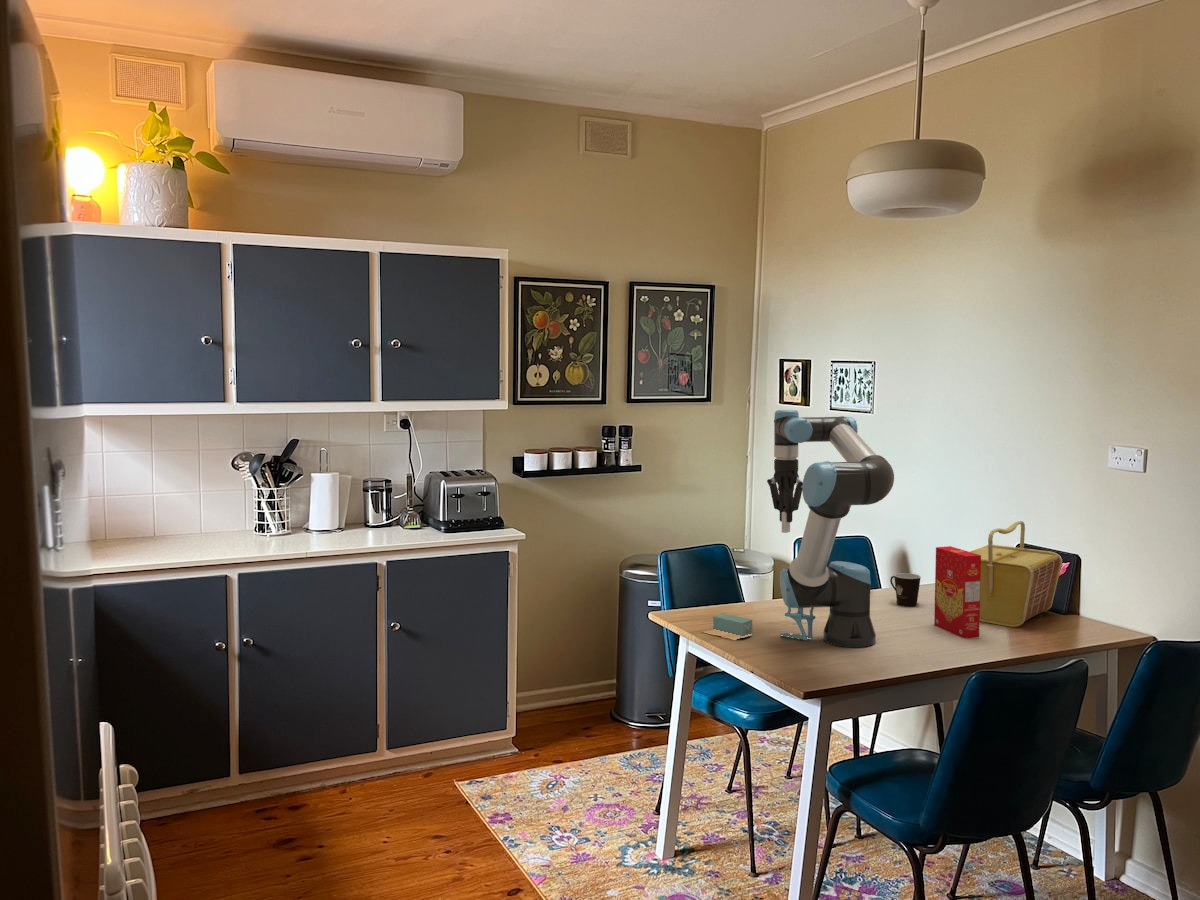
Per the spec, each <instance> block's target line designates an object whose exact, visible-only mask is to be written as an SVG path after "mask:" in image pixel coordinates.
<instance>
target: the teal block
mask: <svg viewBox="0 0 1200 900" xmlns="http://www.w3.org/2000/svg"><path fill="white" fill-rule="evenodd" d="M712 625H713V626H712V628H713V629H716V630H720V631H724V632H728V633H732V634H736V635H740V636H745V635H748V634H751V633H752V634H753V619H751V618H747V617H741V616H737V615H731V614H728V613H724V612H723V613H720V614H717V615H713V617H712Z"/></svg>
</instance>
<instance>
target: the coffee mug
mask: <svg viewBox="0 0 1200 900" xmlns="http://www.w3.org/2000/svg"><path fill="white" fill-rule="evenodd" d="M921 578H922V576H921V575H919V574H915V573H911V572H909V573H908V572H907V573H906V572H905V573H904V572H903V573H901V572H900V573H896V574H894V575H893V576H890V579H889V580H890V584H891V587H892V589H894V591H895V595H896V604H897V606H899V607H903V608H904V607H905V608H916V607H917V605H918V598H919V591H920V584H921ZM893 579H894V583H893Z"/></svg>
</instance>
